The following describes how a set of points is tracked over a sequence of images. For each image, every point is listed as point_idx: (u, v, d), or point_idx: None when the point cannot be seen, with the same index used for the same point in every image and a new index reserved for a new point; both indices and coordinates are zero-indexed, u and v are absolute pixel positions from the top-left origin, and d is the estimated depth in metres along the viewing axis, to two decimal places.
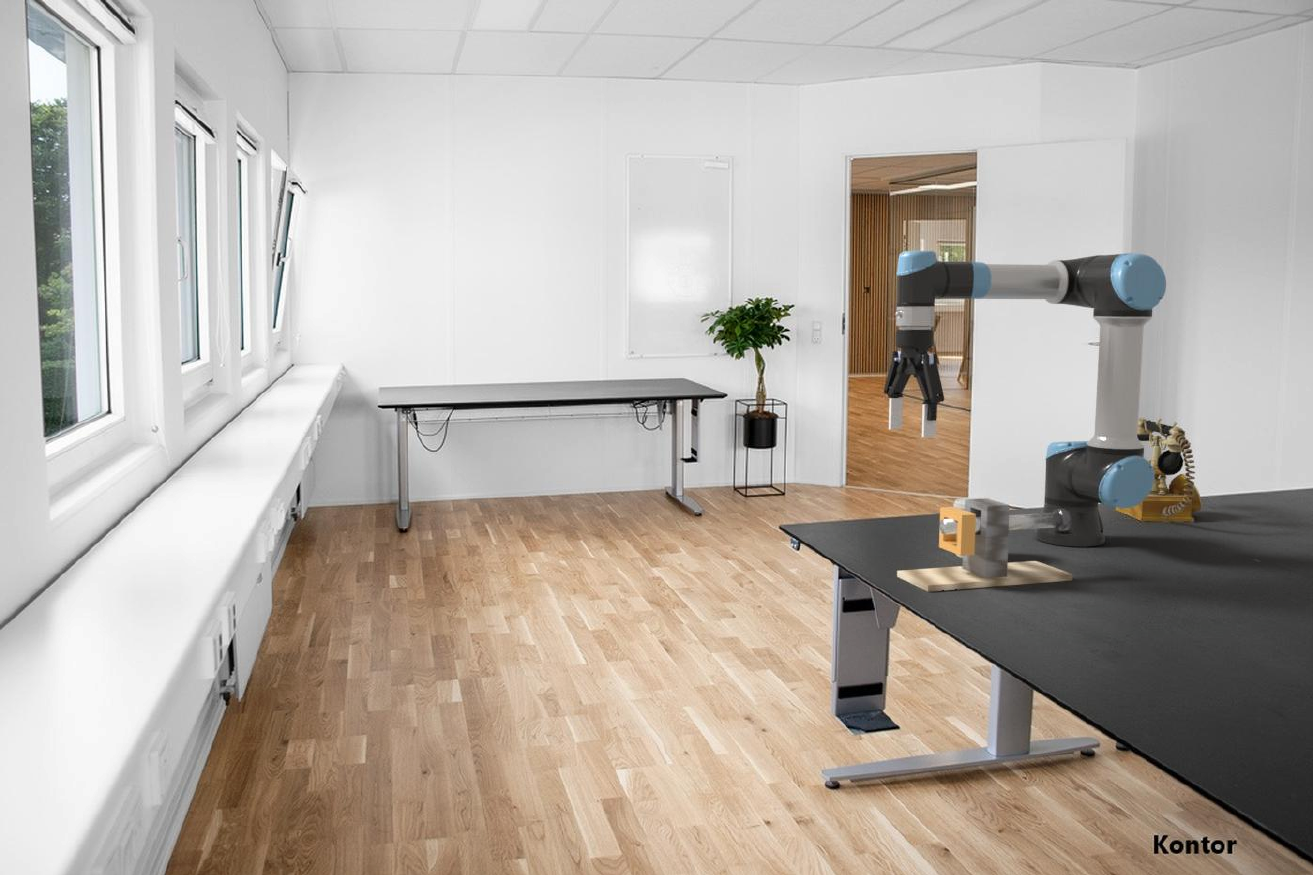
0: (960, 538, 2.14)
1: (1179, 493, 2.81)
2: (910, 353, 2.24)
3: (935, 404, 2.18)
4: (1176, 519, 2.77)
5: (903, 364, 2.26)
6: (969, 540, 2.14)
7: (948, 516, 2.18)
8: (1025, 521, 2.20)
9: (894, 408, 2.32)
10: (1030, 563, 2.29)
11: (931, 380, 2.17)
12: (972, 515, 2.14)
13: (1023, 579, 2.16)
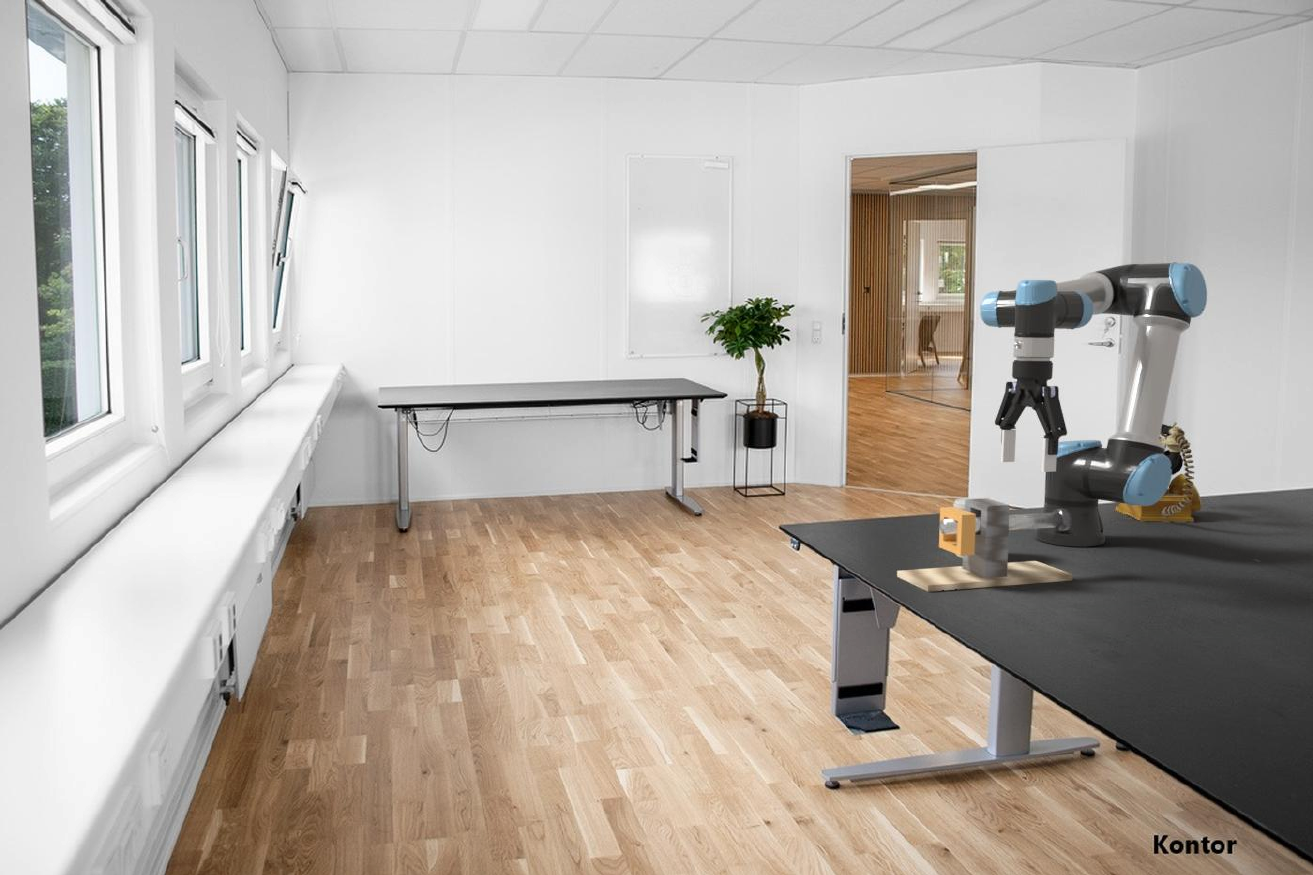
0: (960, 538, 2.14)
1: (1179, 493, 2.81)
2: (1028, 385, 2.18)
3: (1057, 438, 2.12)
4: (1176, 519, 2.77)
5: (1020, 396, 2.20)
6: (969, 540, 2.14)
7: (948, 516, 2.18)
8: (1025, 521, 2.20)
9: (1007, 440, 2.26)
10: (1030, 563, 2.29)
11: (1053, 414, 2.11)
12: (972, 515, 2.14)
13: (1023, 579, 2.16)
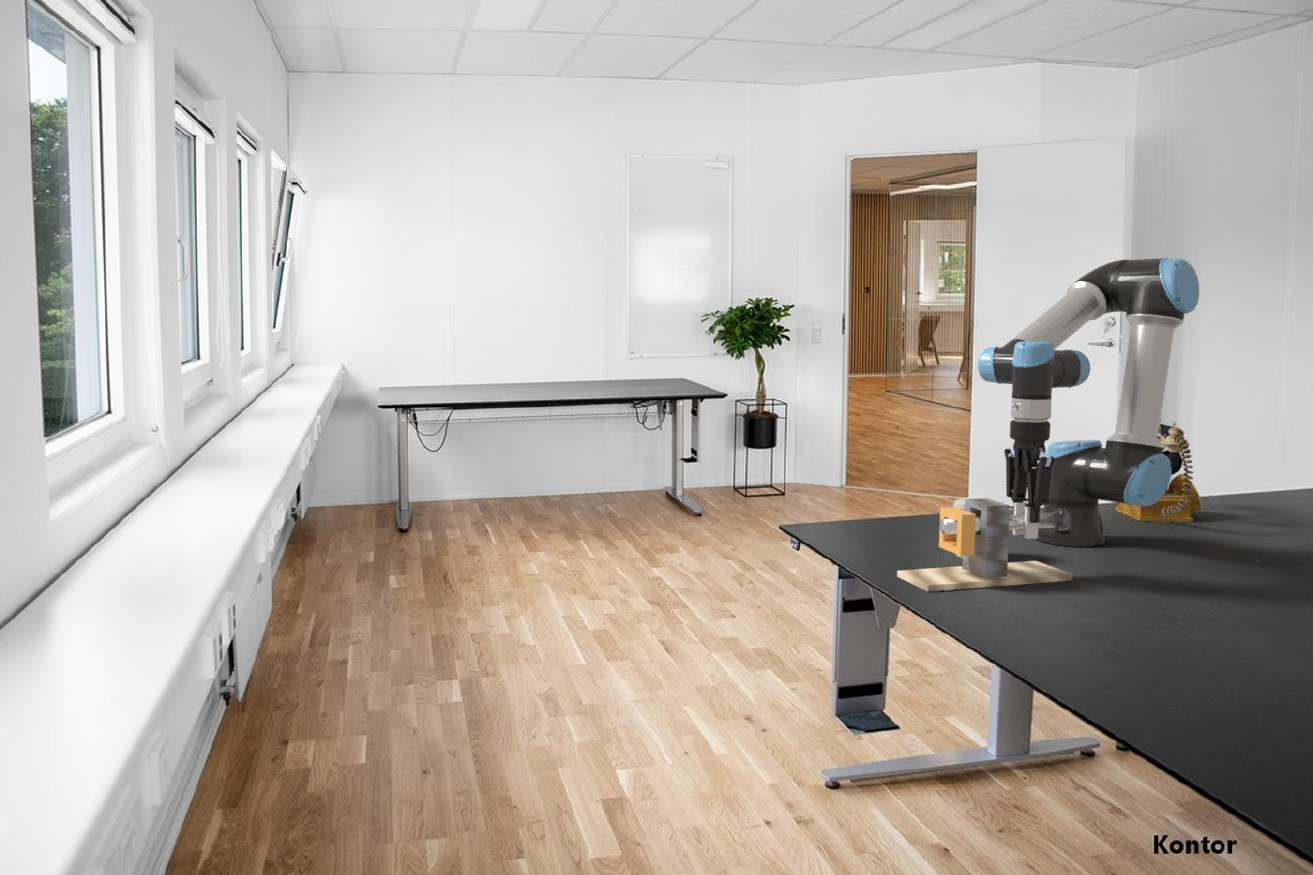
0: (960, 538, 2.14)
1: (1178, 493, 2.81)
2: (1026, 445, 2.19)
3: (1038, 507, 2.18)
4: (1176, 519, 2.77)
5: (1019, 455, 2.21)
6: (969, 540, 2.14)
7: (948, 516, 2.18)
8: None
9: (1019, 513, 2.23)
10: (1030, 563, 2.29)
11: (1041, 485, 2.16)
12: (972, 515, 2.14)
13: (1023, 579, 2.16)
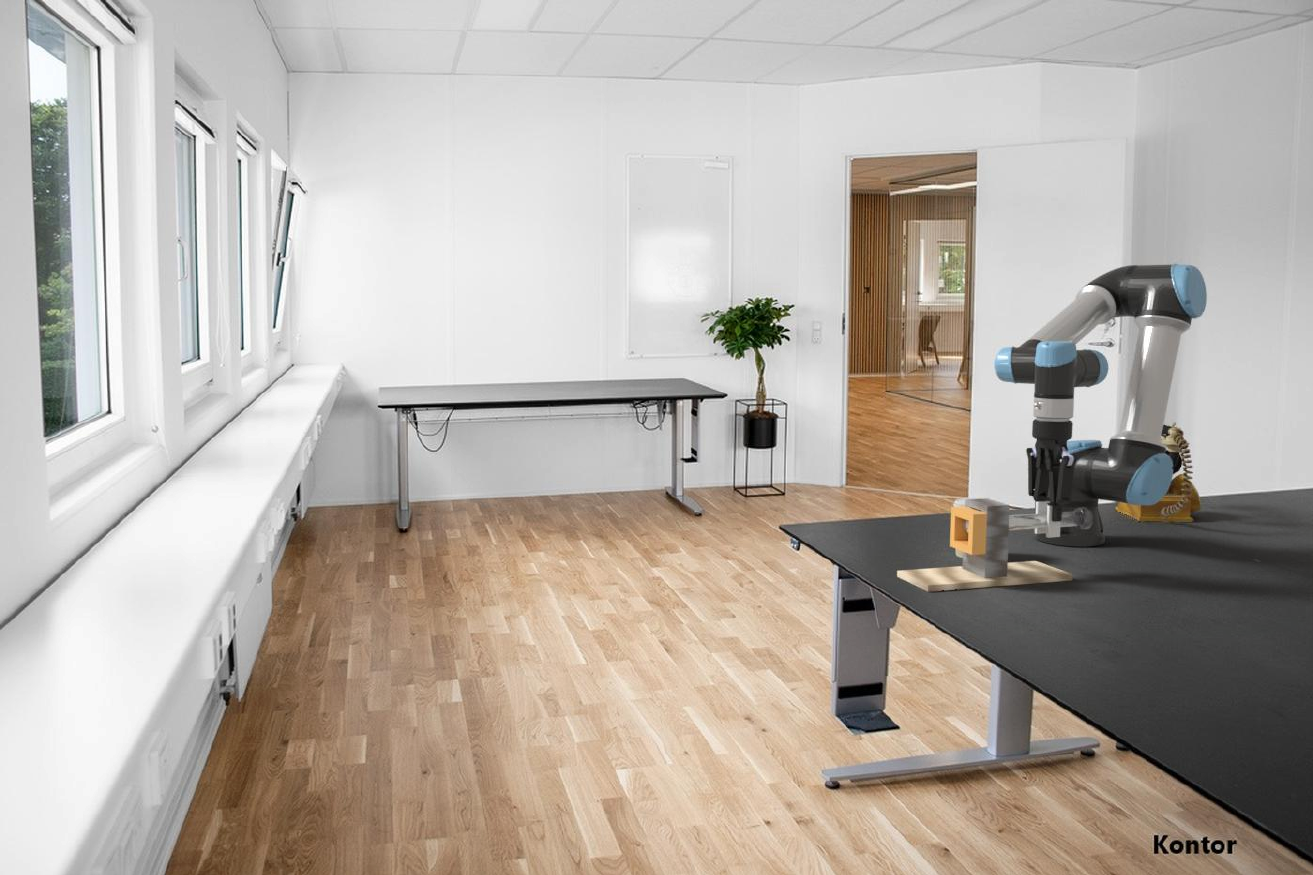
0: (971, 538, 2.15)
1: (1178, 493, 2.81)
2: (1048, 444, 2.21)
3: (1060, 505, 2.20)
4: (1175, 519, 2.77)
5: (1041, 454, 2.22)
6: (980, 539, 2.15)
7: (959, 515, 2.19)
8: None
9: (1041, 512, 2.25)
10: (1030, 563, 2.29)
11: (1063, 484, 2.17)
12: (983, 514, 2.14)
13: (1023, 579, 2.16)
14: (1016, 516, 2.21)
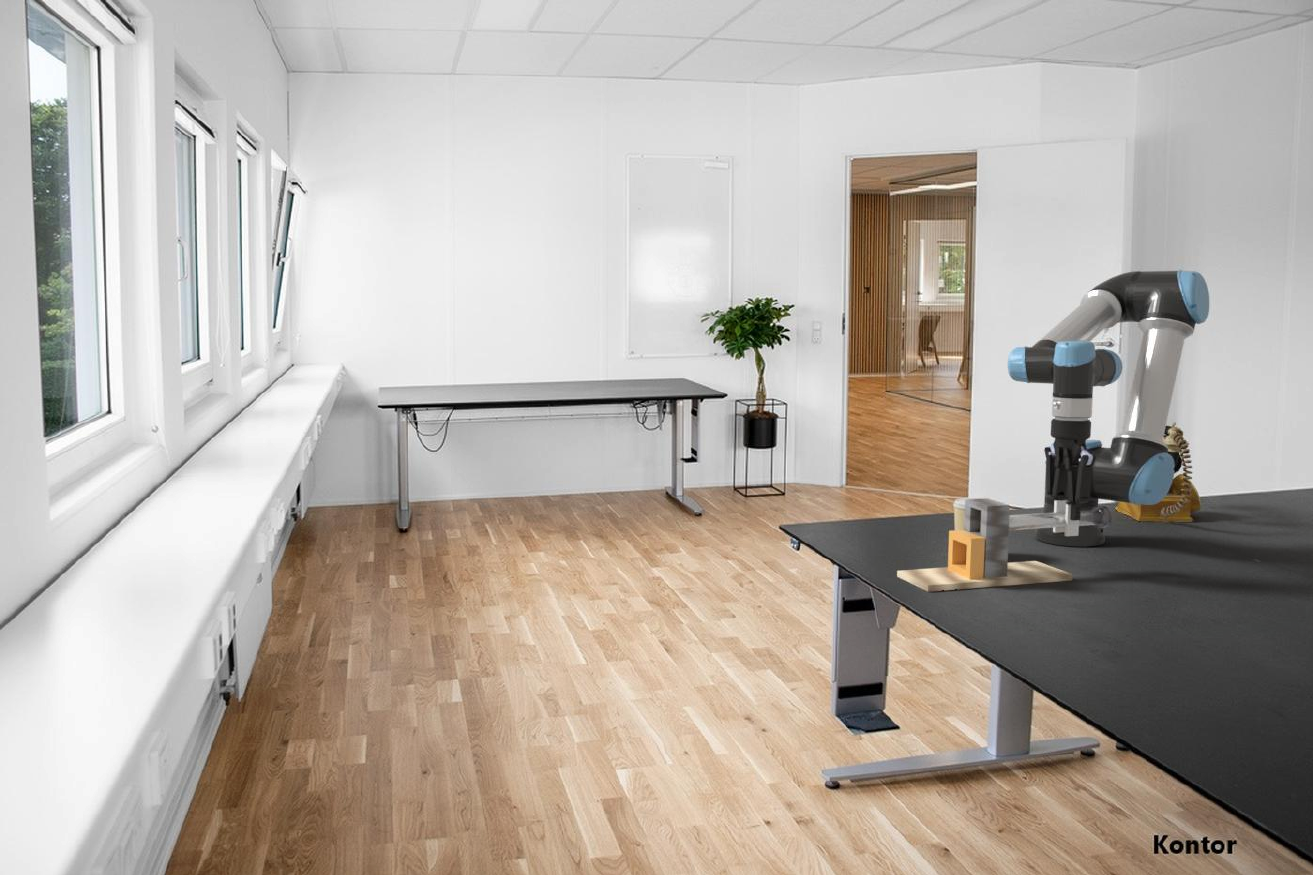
0: (969, 562, 2.15)
1: (1178, 493, 2.81)
2: (1067, 443, 2.22)
3: (1079, 504, 2.21)
4: (1175, 519, 2.77)
5: (1060, 453, 2.23)
6: (978, 564, 2.15)
7: (957, 539, 2.19)
8: None
9: (1059, 511, 2.26)
10: (1030, 563, 2.29)
11: (1082, 483, 2.18)
12: (981, 539, 2.15)
13: (1023, 579, 2.16)
14: (1035, 515, 2.22)
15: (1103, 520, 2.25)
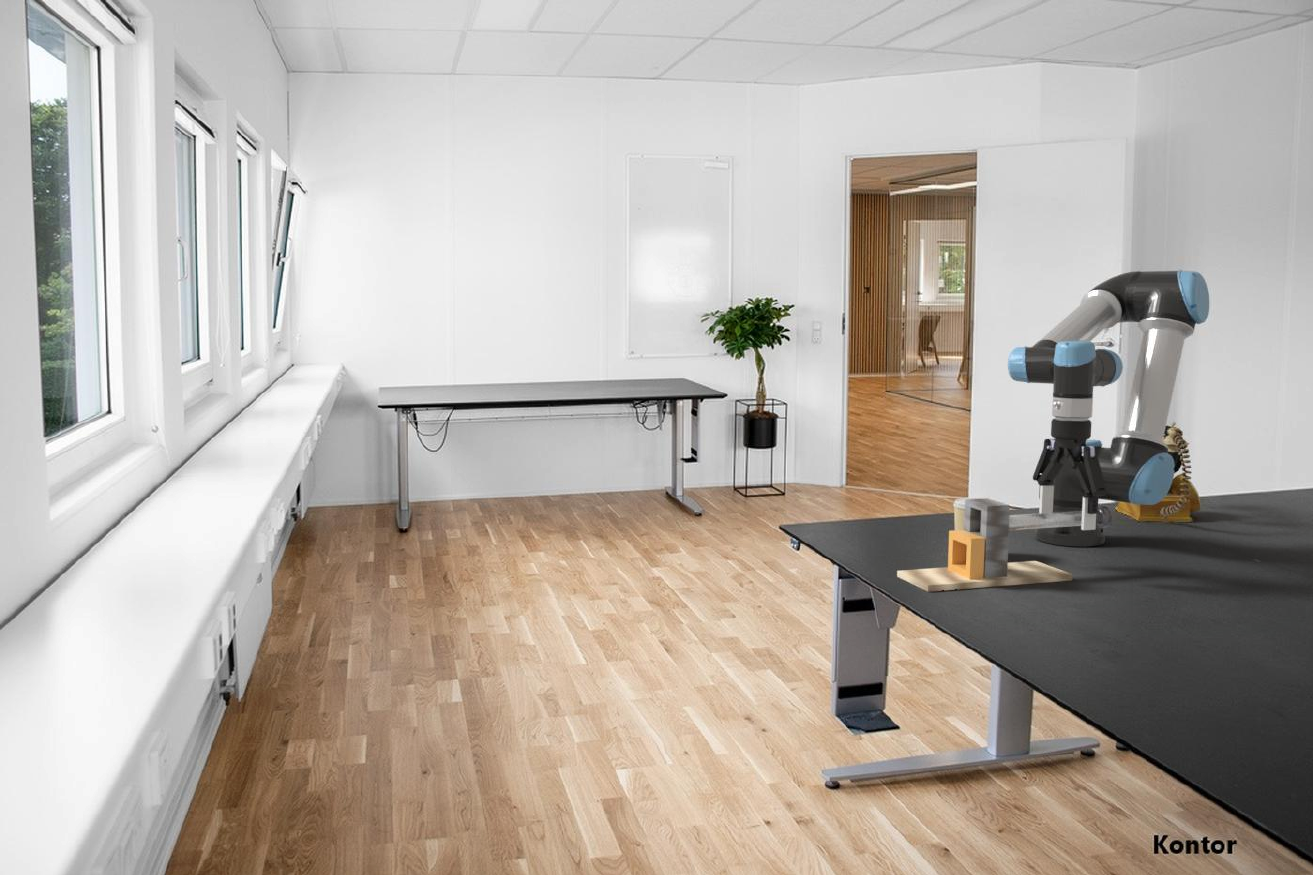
0: (969, 562, 2.15)
1: (1178, 493, 2.81)
2: (1067, 443, 2.22)
3: (1096, 497, 2.16)
4: (1175, 519, 2.77)
5: (1058, 454, 2.24)
6: (978, 564, 2.15)
7: (957, 539, 2.19)
8: (1066, 519, 2.23)
9: (1045, 496, 2.30)
10: (1030, 563, 2.29)
11: (1093, 474, 2.15)
12: (981, 539, 2.15)
13: (1023, 579, 2.16)
14: (1035, 515, 2.22)
15: (1103, 520, 2.25)
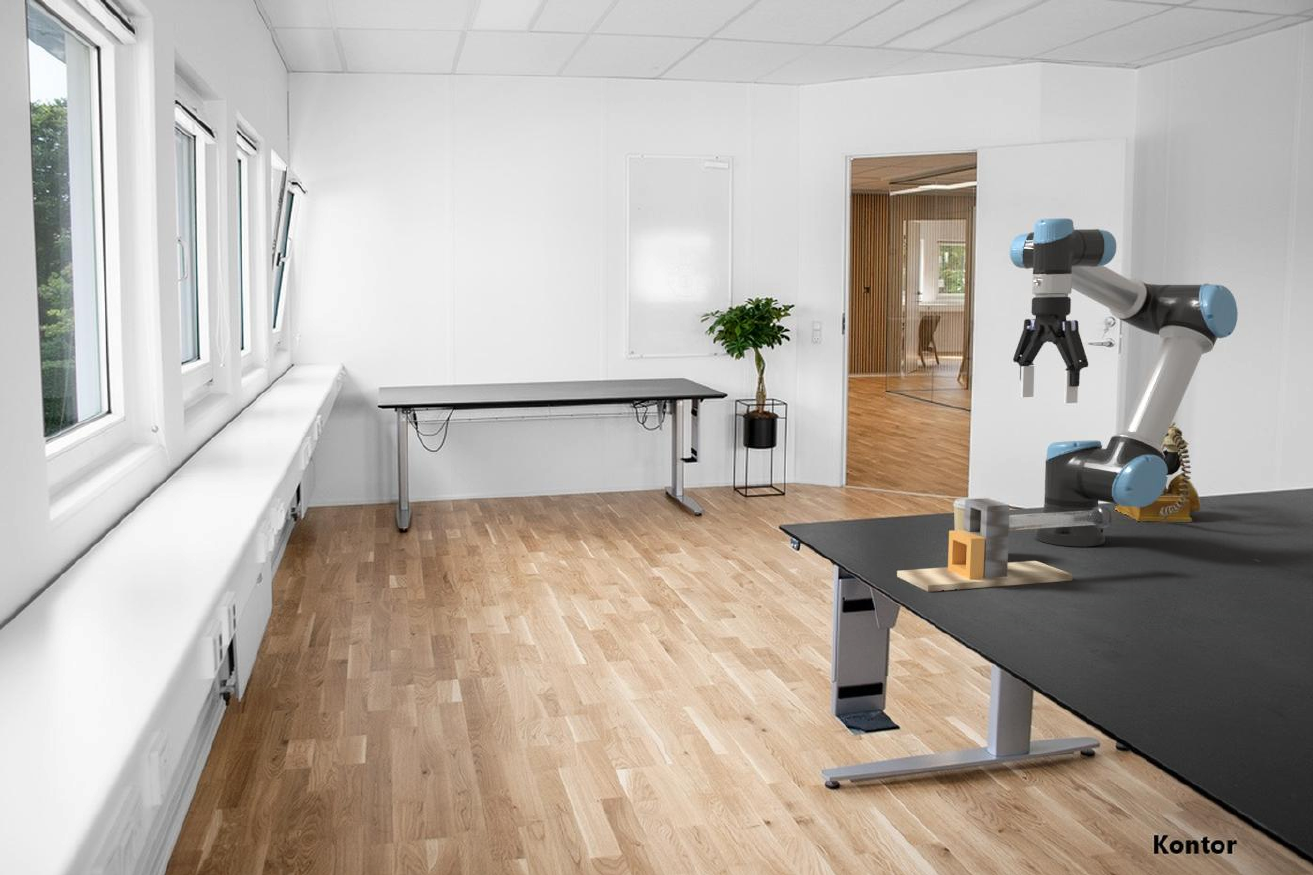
0: (969, 562, 2.15)
1: (1178, 493, 2.81)
2: (1047, 320, 2.26)
3: (1078, 370, 2.20)
4: (1174, 519, 2.77)
5: (1039, 332, 2.28)
6: (978, 564, 2.15)
7: (957, 539, 2.19)
8: (1066, 519, 2.23)
9: (1026, 376, 2.34)
10: (1030, 563, 2.29)
11: (1074, 346, 2.19)
12: (981, 539, 2.15)
13: (1023, 579, 2.16)
14: (1035, 515, 2.22)
15: (1103, 520, 2.25)
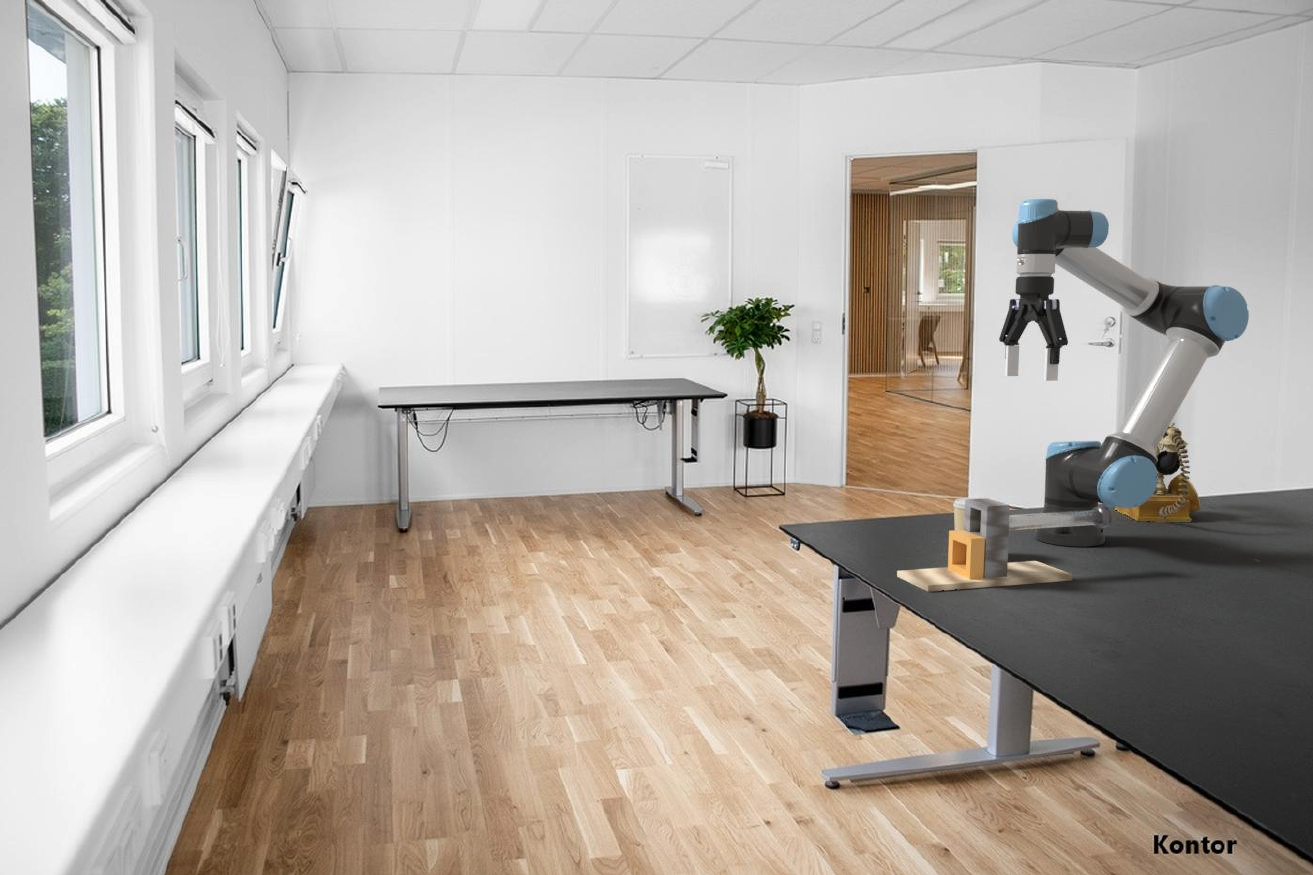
0: (969, 562, 2.15)
1: (1177, 493, 2.81)
2: (1031, 300, 2.29)
3: (1058, 348, 2.23)
4: (1174, 519, 2.77)
5: (1023, 311, 2.31)
6: (978, 564, 2.15)
7: (957, 539, 2.19)
8: (1066, 519, 2.23)
9: (1011, 355, 2.38)
10: (1030, 563, 2.29)
11: (1055, 325, 2.23)
12: (981, 539, 2.15)
13: (1023, 579, 2.16)
14: (1035, 515, 2.22)
15: (1103, 520, 2.25)
